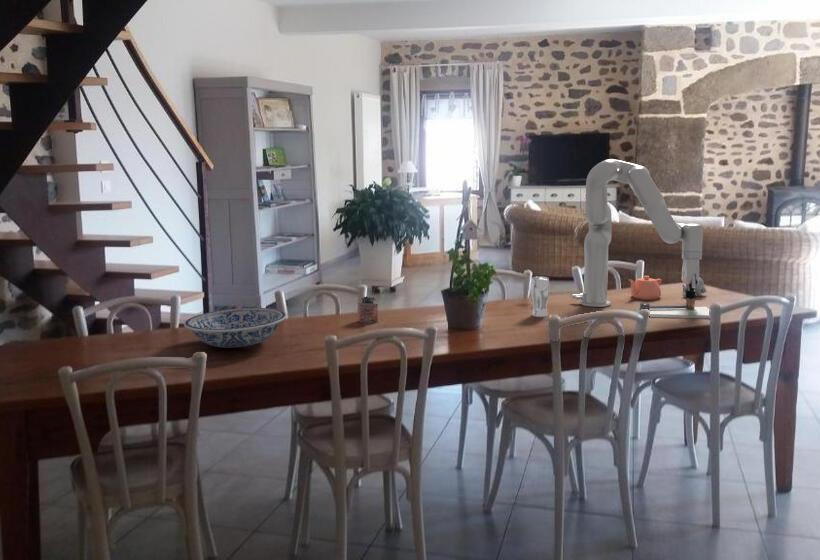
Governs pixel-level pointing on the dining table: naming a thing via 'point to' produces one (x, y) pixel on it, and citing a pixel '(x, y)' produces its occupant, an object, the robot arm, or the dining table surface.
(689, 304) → the tuning lever
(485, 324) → the dining table surface
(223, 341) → the ceramic bowl
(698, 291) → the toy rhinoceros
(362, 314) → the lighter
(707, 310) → the tuner dial board
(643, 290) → the teapot
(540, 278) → the beer glass
